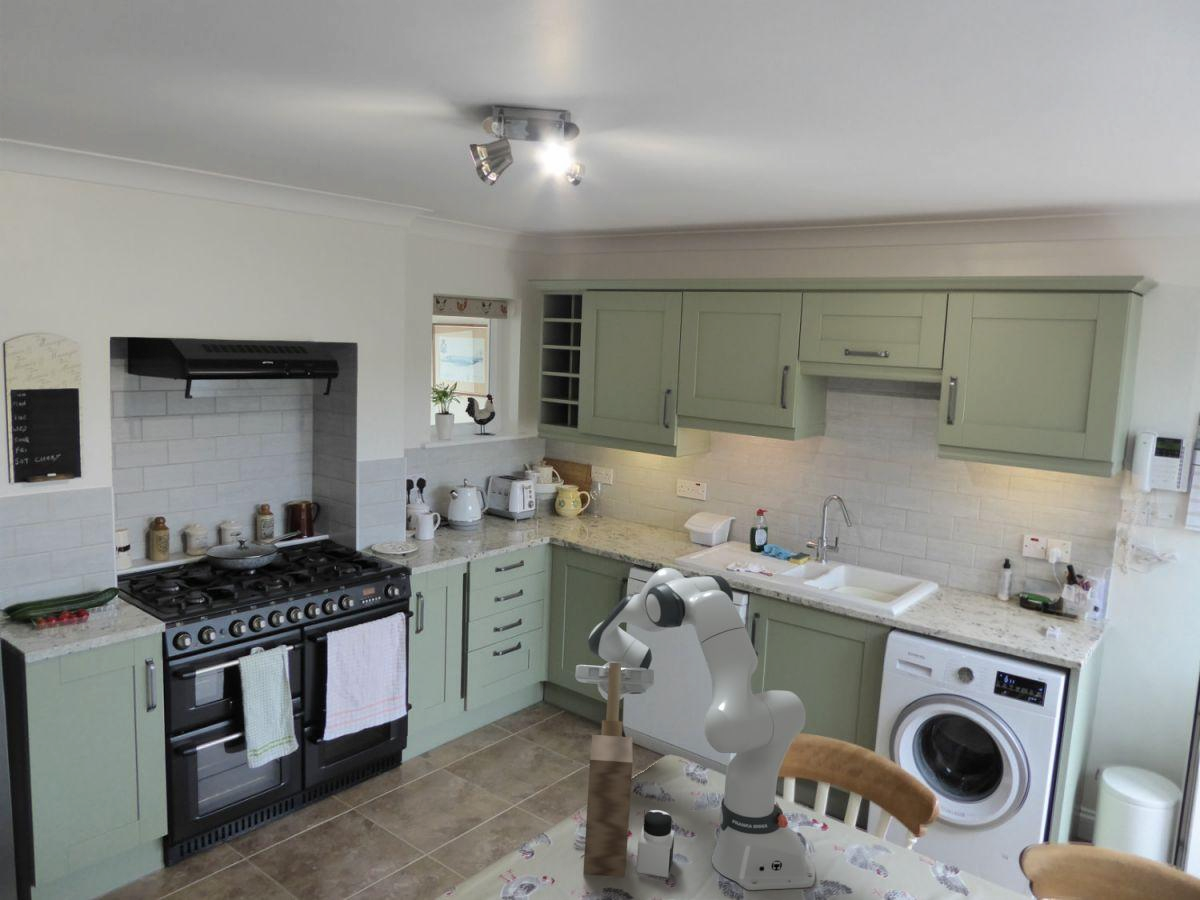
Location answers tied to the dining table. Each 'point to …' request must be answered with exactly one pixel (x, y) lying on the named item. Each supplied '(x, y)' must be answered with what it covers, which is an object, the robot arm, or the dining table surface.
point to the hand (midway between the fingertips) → (615, 670)
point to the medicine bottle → (656, 844)
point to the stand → (608, 806)
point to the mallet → (613, 703)
